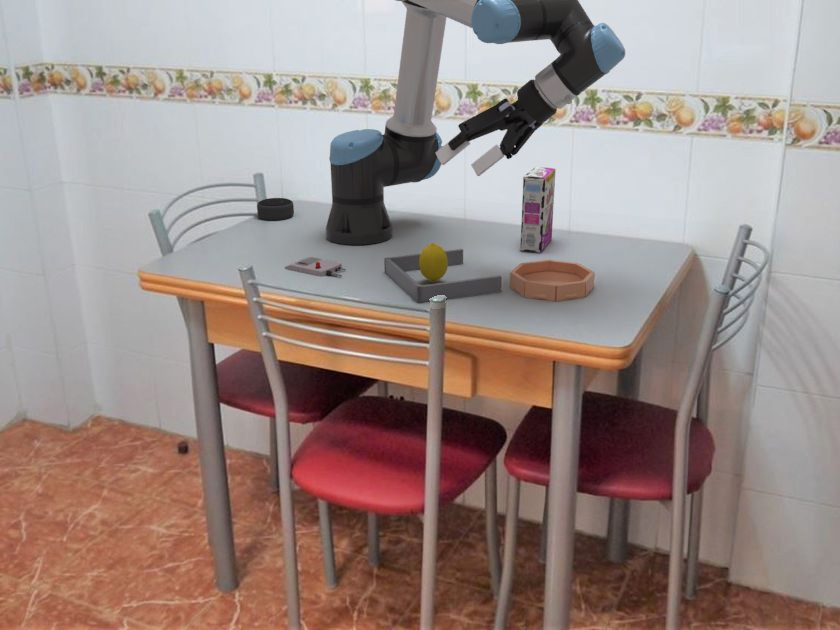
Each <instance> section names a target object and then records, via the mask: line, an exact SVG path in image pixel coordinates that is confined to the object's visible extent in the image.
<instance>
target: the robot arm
mask: <svg viewBox="0 0 840 630" xmlns="http://www.w3.org/2000/svg"><path fill="white" fill-rule="evenodd" d="M395 1H396V2H402V4H403V6H404V7H405V8H406V13H405V21H404V29H403V37H402V46H401V53H400V62H399V70H398V78H397V85H396V91H395V92H396V93H395V101H394V108H393V109H394V110H393V115H392V116H390V117H389V118H388V119H386V121H385V127H384V133H382V132H381V131H380V130H379V129H372V128H363V129H360V130H359V129H356V130H351V131H345V132H343V133H340V134H338V135H336V136H335V137H333V138H332V140H331V142H330V146H329V147H330V148H329V162H330V182H331V200H332V201H331V208H330V211H329V214H328V218H327V221H326V225H325V238H326V239H327V240H328V241H329V242H332V243H335V244H341V245H350V246H354V245H355V246H361V245H363V246H365V245H372V244H373V245H374V244H377V243H382V242H385V241H387V240H390V239H391V238H392V237H393V225H392V221H391V218H390V216H389V214H388V209H387V207H386V204H385V199H384V198H385V195H384V192H385V191H384V190H385V189H384V188H387V187H393V186H397V185H398V186H399V185H403V184H409V183H413V184H414V183H419V182H421V181H424V180H428V179H431V178H432V177H434V176H435V175H436V174H437V173H438V171H439V170H440V168H441V166H445V165H446V164H448V163H449V162H450V161H451V160H452V159H454V157H456V156H458V154H460V153H461V152H462V151H464V150H465V149H466V148H467V147H468V146H470V145H471V141H473V140H476V139H478V138H481V137H483V136H486V135H489V134H491V133H493V132H496V131H498V130H499V131H501V132H503V131H506V132H505V134H504V136H503V138H502V139H501V142H500V144H499V145H498V144H495V145H494V146H492V147H491V148H490V149H489V150H488V151H486V152H485V153H484V154H482V155H481V156H480V157H479V158H477V159H476V160H475V161H474V162H473V163H471V165H470V166H471V168H472V169H473V171H474V173H475V175H476V176H477V177H480V176H481V175H482V174H484V173H485V172H487V170H489V169H491V167H493V166H494V165H495V164H497V163H498V162H499V161H501V160H502V159H503V158H504V157H505V158H506V159H507V160H510V159H511V158H513V156H516V155H517V154H518V153H519V152H520V150H521V149H522V148H523V146H525V144H526V143H527V141H528V140H529V139H530V138H531V137H532V135H533V134H534V133H535V131H537V130H538V129H540V128H541V126H543V124H544V123H545V122H547V121H548V120H549V119H550V118H552V117H553V116H555V114H557V112H558V111H557V110H559V109H560V110H562V109H563V108H564V107H565V106H567V105H571V104H572V103H573V100H574V99H576V98H577V97H578V96H580V95H581V93H583V92H584V91H586V90H587V89H588V88H590V87H591V86H592V85H593V84H595V83H596V82H597V81H599V80H600V79H601V78H603V77H604V76H605V75H607V74H609V73H610V72H611V70H613V69H614V68H615V67H616V66H617V65H619V63H620V62H622V61H623V60H624V58H625V57H626V49H625V47H624V44H623V43H622V41H621V39H620V38H619V37H618V36H617V35H616V33H615V31H614V30H613V29H612V28H611V27H610V26H609V25H608V24H607V23H605V22H600V23H598V24H597V25H594V24H593V22H592V20H591V19H590V17H589V15H588V14H587V12H586V11H585V8H583V6H582V5H581V3H580V1H579V0H395ZM447 19H450V20H453V21H454V22H457V23H460V24H462V25H464V26H466V27H468V28H470V29H472V32H473V34H475V35H476V36H477V39H478V40H479V41H480V42H482V43H484V44H485V43H486V44H495V45H503V44H507V43H508V44H509V43H521V42H522V43H523V42H529V41H544V40H550V42H551V43H552V44H553V46H554V47H555V50H556V51H557V53H559V54H560V55H559V56H557V57H556V58H555V59H554V60H553V61H551V62H550V63H549V64H547V65H546V66H545V67H544V68H543V69H542V70H540V72H538V73H537V74H536V75H535V76H534V79H529V81H527V82H526V83H525V84H524V85H523V86H521V87H520V88H519V89H518V90H517V93H516V95H517V99H516V100H515V101H514V102H511V103H510V101H509V100H508V98H503V99H502V100H500V101H499V102H497V103H496V104H495V105H493V106H491V107H489V108H487V109H486V110H483V111H481V112H480V113H478V114H476V115H475V116H472V117H470V118H468V119H466V120H464V121H463V122H461V123H459V124H458V126H457V127H458V129H459V130H460V132H459V133H458V134H456V135H455V136H453V138H451V139H450V140H449V141H447V143H446V144H444V145H442V143H443V139H442V138H441V136H440V135H439V133H438V131H437V130H438V129H437V127H436V125H435V124H434V123H433V122H432V119H433V110H434V104H435V97H436V92H437V84H438V77H439V71H440V62H441V56H442V49H443V44H444V36H445V29H446V22H447Z"/></svg>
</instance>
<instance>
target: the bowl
mask: <svg viewBox="0 0 840 630" xmlns="http://www.w3.org/2000/svg"><path fill="white" fill-rule="evenodd" d="M509 273H510V274H509V275H510V276H509V277H510V279H509V280H510V281H509V287H510V288H511V289H512V290H513V291H514V292H516V293H517V294H519V295H520V296H522V297H524V298H529V299H534V300H542V301H551V302H560V301H561V302H562V301H569V300H576V299H582V298H583V299H584V298H586V297H587V296H588V295H589V294H590V293H591V292H592V290H593V289H594V287H595V271H593V270H592V269H590V268H588V267H586V266H585V265H582V264H581V263H578V262H572V261H563V260H555V259H542V260H533V261H525V262H521V263H519V264H518V265H517V266H515V267H514V268H513V269H512V270H511V271H510V272H509Z"/></svg>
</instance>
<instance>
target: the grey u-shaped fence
mask: <svg viewBox="0 0 840 630" xmlns="http://www.w3.org/2000/svg"><path fill="white" fill-rule="evenodd" d="M444 251H445V252H446V255H447V260H448V266H447V267H449V266H454V265H455V266H456V265H462V264H464V249H463V248H458V249H448V250H444ZM420 254H421V253H413V254H406V255H398V256H390V257H389V256H388V257H387V256H386V257H383V258H384V265H383V266H384V273H385V274H386V275H387V276H388V277H389V278H390V279H391V280H393V281H394V283H396V284H397V285H398V286H399V287H400V288H402V290H404V291H405V293H406V294H407V295H409V296H410V298H412V299H413V300H414V301H415V302H416V303H418V304H420V303H427V302H428V301H429V299H430V298H432V297H434V296H437V295H445V296H446V297H447V299H446V300H449V299H457V298H465V297H466V298H467V297H471V296H473V297H474V296H478V295H480V296H481V295H488V294H493V293H501V292H503V291H502V287H503V286H502V283H503V282H502V281H503V278H502V277H503V276H502V275H493V276H492V275H491V276H484V277H483V276H482V277H476V278H469V279H461V280H453V281H446V282H445V281H444V282H438V283H431V284H424V285H420V284H419V283H418V282H417V281H416V280H415V279H413V278H412V277H411V276H410V275H409V274H408V273H406V272H407V271H414V270H415V271H416V270H420V267H419V258H420ZM429 302H430V301H429ZM429 302H428V303H429Z"/></svg>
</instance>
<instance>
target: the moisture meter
mask: <svg viewBox="0 0 840 630" xmlns="http://www.w3.org/2000/svg"><path fill="white" fill-rule="evenodd" d="M342 266H343V265H342V262H340V261H336V260H335V261H333V260H328V259H323V258H319V257H314V256H307V257H305V258H303V259H302V258H301V259H300V260H297V261H295V262H292V263H290V264H288V265H286V266H285V267H284V269H285V270H289V271H292V272H293V271H294V272H297V273H298V272H299V273H302V274H303V273H304V274H307V275H311V276H318V277H327V276H328V277H332V276H334V277H343V275H342V274H339V273H337V272H341V271H346V270H347V269H346V268H342Z"/></svg>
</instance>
